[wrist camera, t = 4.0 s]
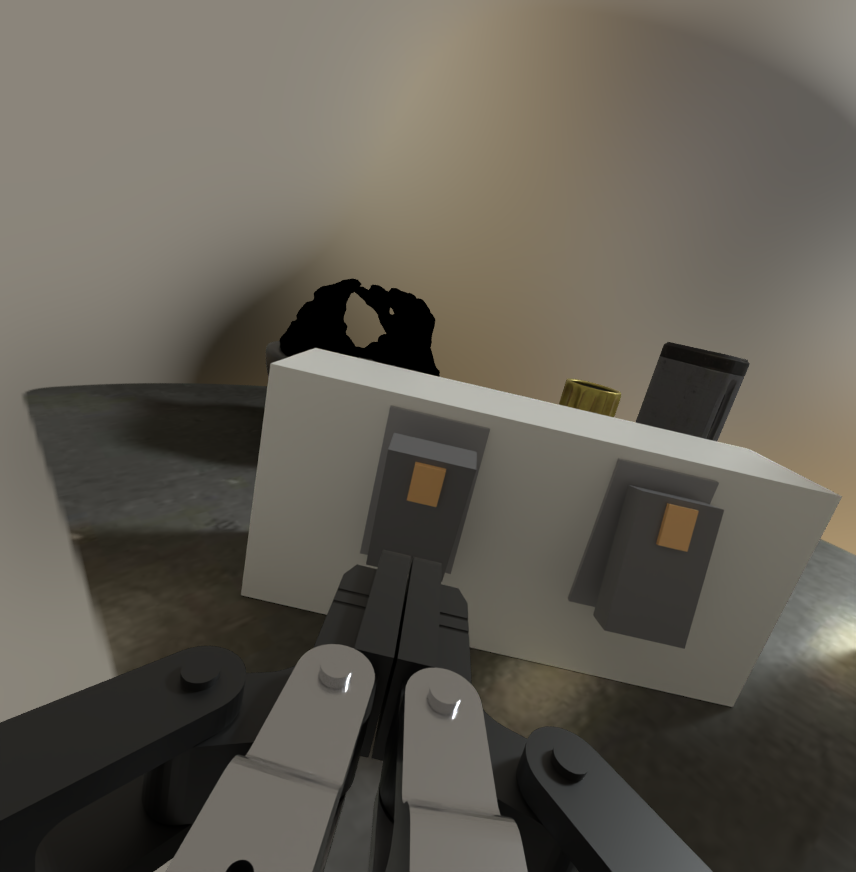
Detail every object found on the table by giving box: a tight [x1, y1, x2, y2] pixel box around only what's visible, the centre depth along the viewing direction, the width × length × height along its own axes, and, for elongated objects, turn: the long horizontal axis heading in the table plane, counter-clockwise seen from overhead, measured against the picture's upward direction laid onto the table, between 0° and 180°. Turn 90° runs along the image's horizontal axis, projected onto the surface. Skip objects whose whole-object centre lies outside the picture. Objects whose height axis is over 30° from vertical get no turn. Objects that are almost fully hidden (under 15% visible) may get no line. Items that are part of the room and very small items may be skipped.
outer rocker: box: [366, 433, 477, 582], centre depth 23 cm, size 2×4×7 cm, turn 87°
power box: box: [241, 348, 842, 707], centre depth 30 cm, size 8×30×14 cm, turn 87°
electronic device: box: [636, 342, 749, 441], centre depth 62 cm, size 9×6×20 cm, turn 27°
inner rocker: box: [593, 485, 724, 649], centre depth 23 cm, size 2×4×7 cm, turn 87°
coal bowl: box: [266, 279, 440, 377], centre depth 55 cm, size 20×20×19 cm
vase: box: [559, 379, 621, 417], centre depth 48 cm, size 6×6×14 cm
